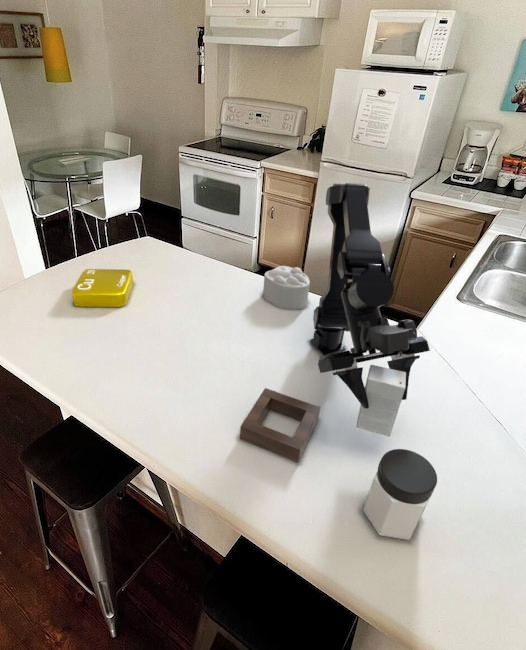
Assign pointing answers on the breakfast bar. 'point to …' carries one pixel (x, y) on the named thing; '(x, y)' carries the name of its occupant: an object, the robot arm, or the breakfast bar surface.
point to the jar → (400, 493)
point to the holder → (274, 439)
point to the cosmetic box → (382, 400)
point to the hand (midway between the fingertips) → (385, 404)
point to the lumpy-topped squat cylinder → (286, 287)
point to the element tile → (103, 288)
